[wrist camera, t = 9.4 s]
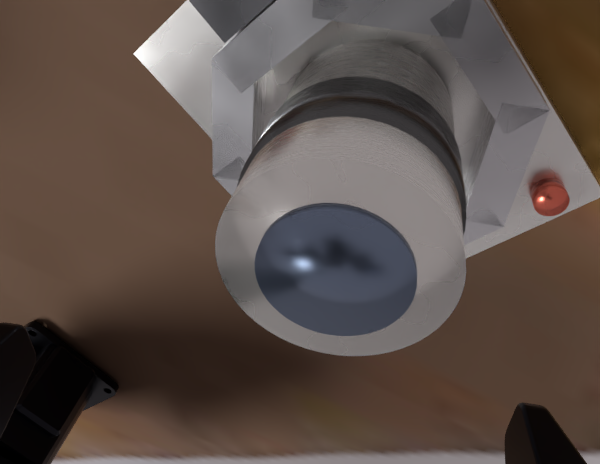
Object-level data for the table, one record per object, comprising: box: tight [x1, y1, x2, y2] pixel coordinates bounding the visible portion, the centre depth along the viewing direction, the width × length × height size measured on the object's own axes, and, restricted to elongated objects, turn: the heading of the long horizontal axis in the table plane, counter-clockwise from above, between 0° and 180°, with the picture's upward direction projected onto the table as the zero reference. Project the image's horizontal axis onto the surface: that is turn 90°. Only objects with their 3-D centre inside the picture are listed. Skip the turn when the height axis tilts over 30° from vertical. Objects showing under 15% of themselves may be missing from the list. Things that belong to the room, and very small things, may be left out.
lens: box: [215, 40, 466, 356], centre depth 13 cm, size 5×5×7 cm
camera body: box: [134, 0, 600, 259], centre depth 17 cm, size 9×12×4 cm
